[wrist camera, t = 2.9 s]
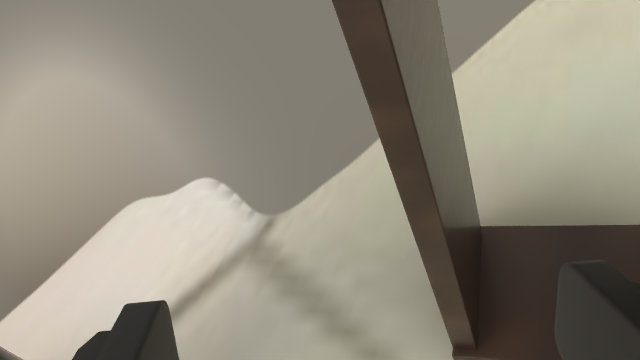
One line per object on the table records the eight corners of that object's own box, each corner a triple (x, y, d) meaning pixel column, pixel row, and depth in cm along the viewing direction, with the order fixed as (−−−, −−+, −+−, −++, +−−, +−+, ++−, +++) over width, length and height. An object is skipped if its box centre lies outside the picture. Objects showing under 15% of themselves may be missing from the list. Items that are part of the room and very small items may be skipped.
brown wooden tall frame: (454, 363, 34) (252, -201, 12) (463, 235, 40) (337, -299, 18) (716, 386, 29) (1222, -554, 7) (681, 234, 35) (885, -526, 13)
